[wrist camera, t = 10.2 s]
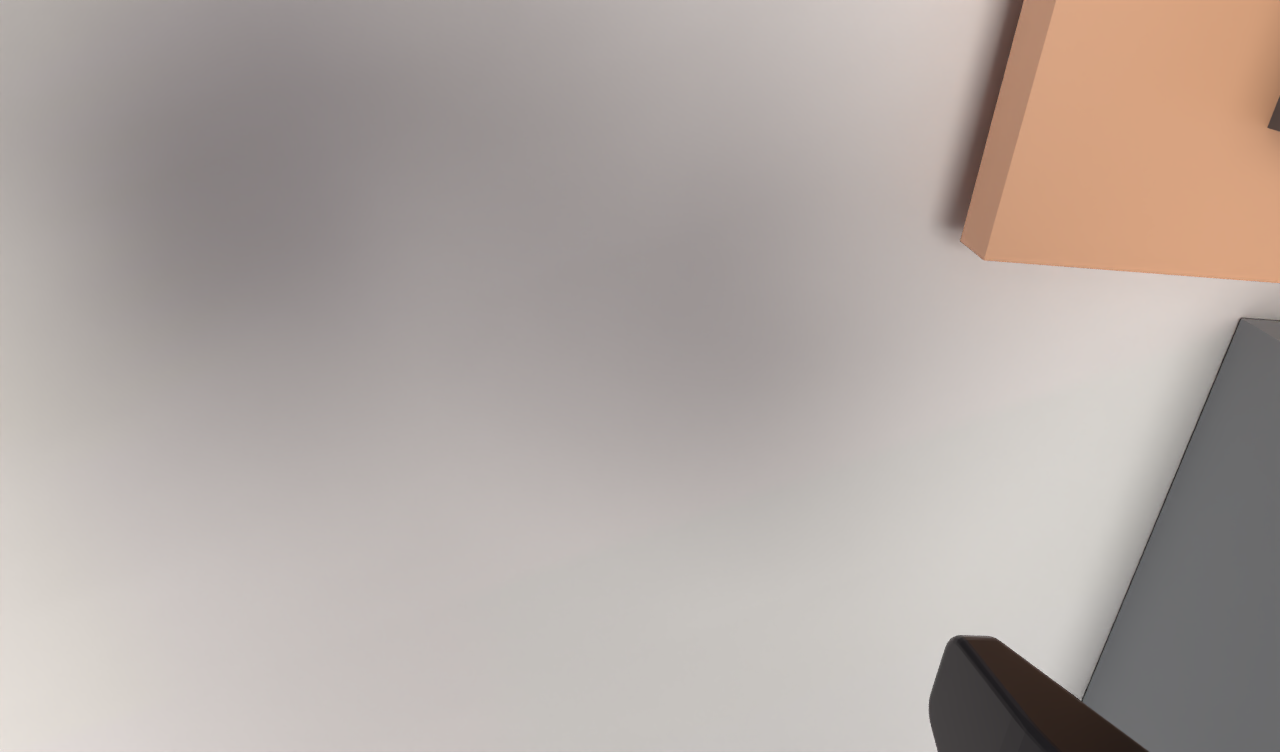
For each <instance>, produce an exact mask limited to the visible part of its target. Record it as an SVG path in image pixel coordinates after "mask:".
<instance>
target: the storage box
mask: <svg viewBox="0 0 1280 752" xmlns="http://www.w3.org/2000/svg"><path fill="white" fill-rule="evenodd" d="M1082 702H1083V703H1084V704H1086V705H1087V706H1088V707H1090V708H1091V709H1093V710H1094V711H1095V712H1097V713H1098V714H1099V715H1101V716H1102V717H1103V718H1105V719H1106V720H1107V721H1109V722H1110V723H1111V724H1113V725H1114V726H1115V727H1117V728H1118V729H1120V730H1121V731H1122V732H1124V733H1125V734H1126V735H1128V736H1129V737H1130V738H1132V739H1133V740H1134V741H1136V742H1137V743H1138V744H1140V745H1141V746H1142V747H1144V748H1145V749H1147V750H1148V751H1149V752H1280V321H1274V320H1259V319H1245V318H1241V320H1240V323H1239V325H1238V327H1237V330H1236V332H1235V335H1234V337H1233V339H1232V342H1231V344H1230V347H1229V349H1228V352H1227V354H1226V356H1225V359H1224V361H1223V364H1222V366H1221V368H1220V371H1219V373H1218V376H1217V378H1216V380H1215V383H1214V385H1213V388H1212V390H1211V392H1210V395H1209V397H1208V400H1207V402H1206V404H1205V407H1204V409H1203V412H1202V414H1201V417H1200V419H1199V421H1198V424H1197V426H1196V429H1195V431H1194V433H1193V436H1192V438H1191V441H1190V443H1189V445H1188V448H1187V450H1186V453H1185V455H1184V457H1183V460H1182V462H1181V465H1180V467H1179V470H1178V472H1177V474H1176V477H1175V479H1174V482H1173V484H1172V486H1171V489H1170V491H1169V494H1168V496H1167V498H1166V501H1165V503H1164V506H1163V508H1162V510H1161V513H1160V515H1159V518H1158V520H1157V522H1156V525H1155V527H1154V530H1153V532H1152V535H1151V537H1150V539H1149V542H1148V544H1147V547H1146V549H1145V551H1144V554H1143V556H1142V559H1141V561H1140V563H1139V566H1138V568H1137V571H1136V573H1135V575H1134V578H1133V580H1132V583H1131V585H1130V587H1129V590H1128V592H1127V595H1126V597H1125V600H1124V602H1123V604H1122V607H1121V609H1120V612H1119V614H1118V616H1117V619H1116V621H1115V624H1114V626H1113V628H1112V631H1111V633H1110V636H1109V638H1108V640H1107V643H1106V645H1105V648H1104V650H1103V652H1102V655H1101V657H1100V660H1099V662H1098V665H1097V667H1096V669H1095V672H1094V674H1093V677H1092V679H1091V681H1090V684H1089V686H1088V689H1087V691H1086V693H1085V696H1084V698H1083V701H1082Z"/></svg>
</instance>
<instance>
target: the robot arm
mask: <svg viewBox="0 0 1280 752" xmlns="http://www.w3.org/2000/svg"><path fill="white" fill-rule="evenodd" d="M929 718H930V723H931V727H932V731H933V735H934V739H935V743H936V746H937V750H938V752H1149V751H1148V750H1147V749H1145V748H1144V747H1142V746H1141V745H1140V744H1138V743H1137V742H1136V741H1134V740H1133V739H1132V738H1130V737H1129V736H1128V735H1126V734H1125V733H1124V732H1122V731H1121V730H1120V729H1118V728H1117V727H1115V726H1114V725H1113V724H1111V723H1110V722H1109V721H1107V720H1106V719H1105V718H1103V717H1102V716H1101V715H1099V714H1098V713H1097V712H1095V711H1094V710H1093V709H1091V708H1090V707H1088V706H1087V705H1086V704H1084V703H1083V702H1082V701H1080V700H1079V699H1078V698H1076V697H1075V696H1074V695H1072V694H1071V693H1070V692H1068V691H1067V690H1066V689H1064V688H1063V687H1062V686H1060V685H1059V684H1057V683H1056V682H1055V681H1053V680H1052V679H1051V678H1049V677H1048V676H1047V675H1045V674H1044V673H1043V672H1041V671H1040V670H1039V669H1037V668H1036V667H1035V666H1033V665H1032V664H1030V663H1029V662H1028V661H1026V660H1025V659H1024V658H1022V657H1021V656H1020V655H1018V654H1017V653H1016V652H1014V651H1013V650H1012V649H1010V648H1009V647H1008V646H1006V645H1005V644H1003V643H1002V642H1001V641H999V640H998V639H996V638H994V637H990V636H971V635H958V636H955V637H952V638H951V639H950V640H949V642H948V643H947V645H946V647H945V650H944V653H943V656H942V659H941V663H940V666H939V669H938V672H937V675H936V678H935V682H934V685H933V688H932V691H931V694H930V699H929Z"/></svg>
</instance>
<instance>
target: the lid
mask: <svg viewBox="0 0 1280 752" xmlns="http://www.w3.org/2000/svg"><path fill="white" fill-rule="evenodd" d="M960 241H961V242H962V243H963V244H964V245H966V246H967V247H968V248H969V249H970V250H972V251H973V252H974V253H975V254H977V255H978V256H979V257H980V258H982V259H983V260H986V261H999V262H1012V263H1025V264H1038V265H1051V266H1064V267H1077V268H1090V269H1103V270H1116V271H1129V272H1142V273H1155V274H1168V275H1181V276H1194V277H1207V278H1220V279H1233V280H1246V281H1259V282H1272V283H1280V0H1024V1H1023V5H1022V9H1021V13H1020V17H1019V20H1018V24H1017V28H1016V32H1015V35H1014V39H1013V43H1012V47H1011V51H1010V54H1009V58H1008V62H1007V66H1006V70H1005V73H1004V77H1003V81H1002V85H1001V88H1000V92H999V96H998V100H997V104H996V107H995V111H994V115H993V119H992V122H991V126H990V130H989V134H988V138H987V141H986V145H985V149H984V153H983V156H982V160H981V164H980V168H979V172H978V175H977V179H976V183H975V187H974V190H973V194H972V198H971V202H970V206H969V209H968V213H967V217H966V221H965V224H964V228H963V232H962V236H961V240H960Z"/></svg>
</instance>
